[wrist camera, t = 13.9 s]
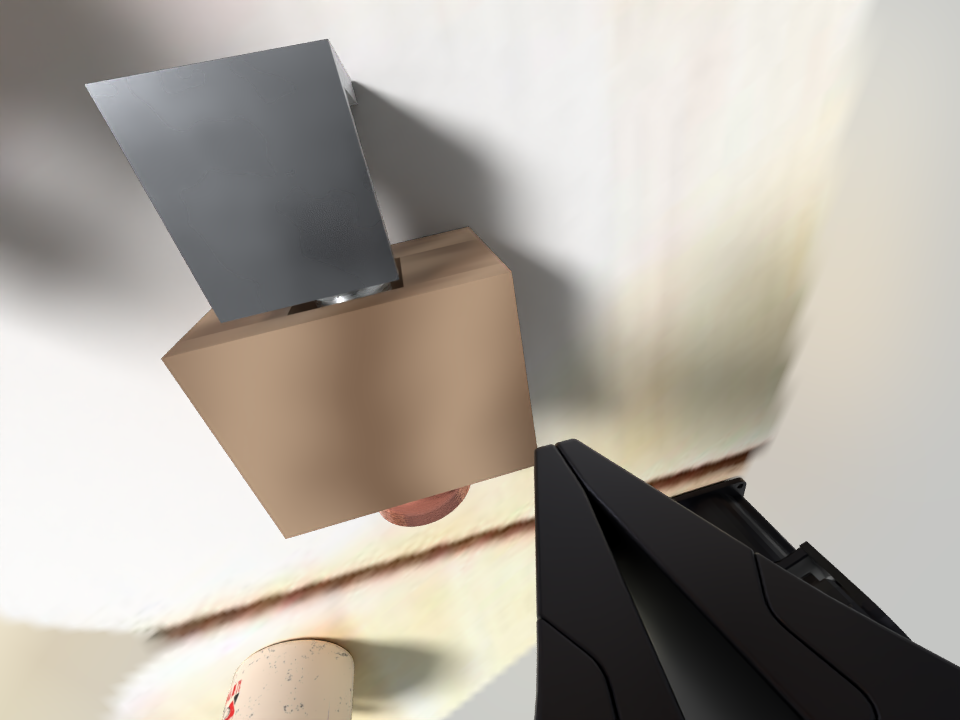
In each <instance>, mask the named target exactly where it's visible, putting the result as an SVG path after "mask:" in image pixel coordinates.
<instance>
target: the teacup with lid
mask: <svg viewBox="0 0 960 720" xmlns="http://www.w3.org/2000/svg"><path fill="white" fill-rule="evenodd" d="M353 683H354V661H353V658H352V657H351V655H350V654H349V653H348V651H346V650H345V649H344V648H342V647H340V646H338V645H336V644H334V643H330V642H326V641H320V640H295V641H288V642H283V643H279V644H275V645H272V646H269V647H267V648H264V649H262V650H260V651H258V652H256V653H254V654H253V655H251V656H250V657H248V658H247V659H246V660H245V661H244V662H243V663H242V664H241V665H240V666H239V667H238V668H237V670H236V672H235V674H234V676H233V679H232V683H231V686H230V690H229V693H228V697H227V700H226V704H225V708H224V711H223V715H222V718H221V720H351V719H352V701H353Z"/></svg>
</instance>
